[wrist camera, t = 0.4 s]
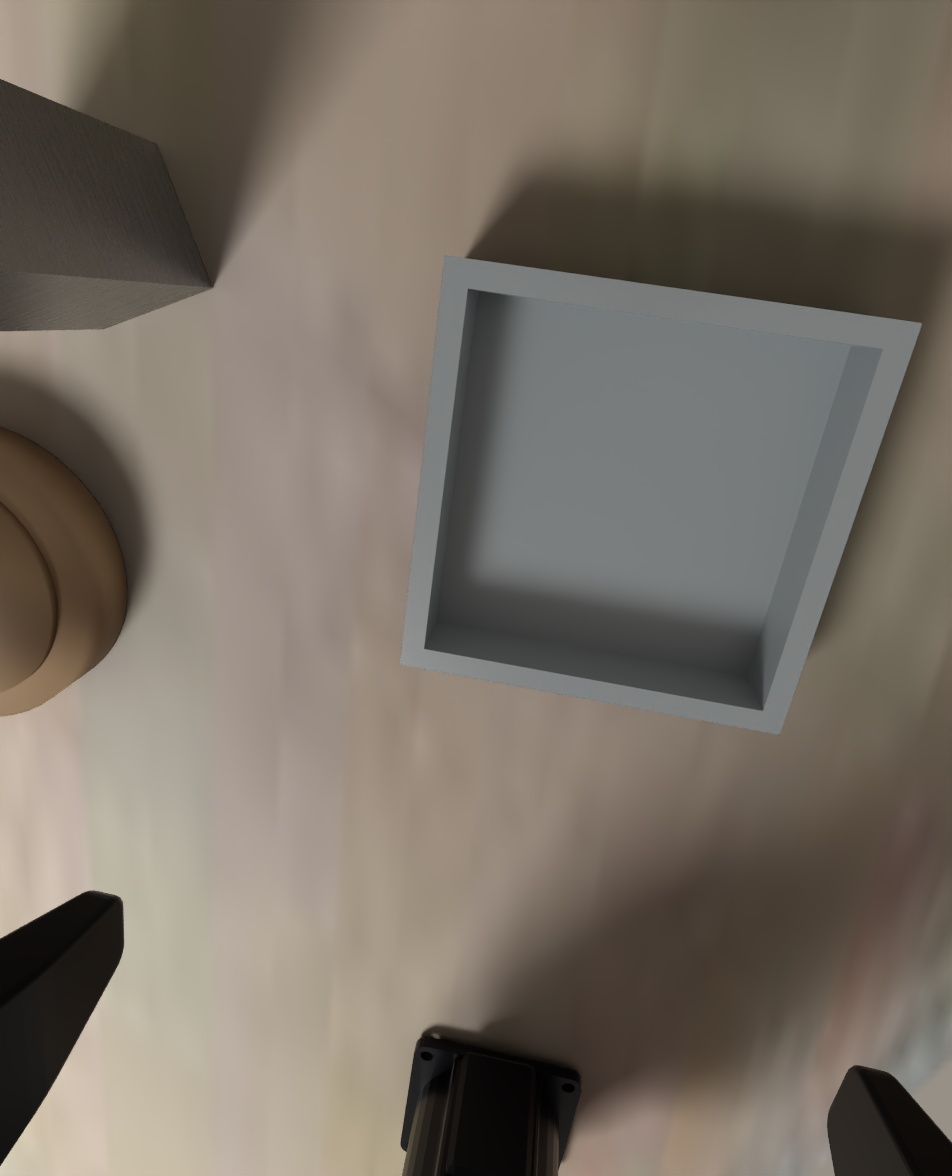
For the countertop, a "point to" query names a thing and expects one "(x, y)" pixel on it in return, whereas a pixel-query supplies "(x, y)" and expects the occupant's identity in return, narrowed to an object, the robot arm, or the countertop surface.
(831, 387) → the tray
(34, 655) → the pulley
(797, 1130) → the countertop surface
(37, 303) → the pin
